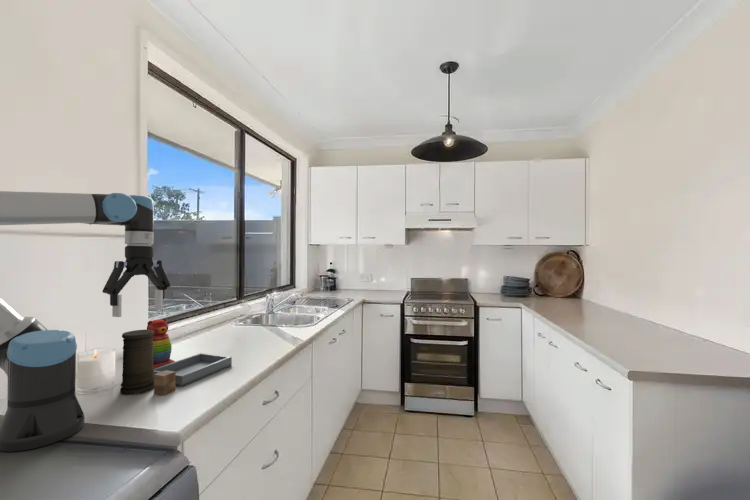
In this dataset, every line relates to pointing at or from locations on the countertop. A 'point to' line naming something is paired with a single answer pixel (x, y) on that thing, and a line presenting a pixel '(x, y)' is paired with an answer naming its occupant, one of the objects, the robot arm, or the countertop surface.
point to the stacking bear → (160, 343)
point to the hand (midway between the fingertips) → (139, 313)
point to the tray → (196, 367)
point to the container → (137, 362)
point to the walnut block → (164, 382)
